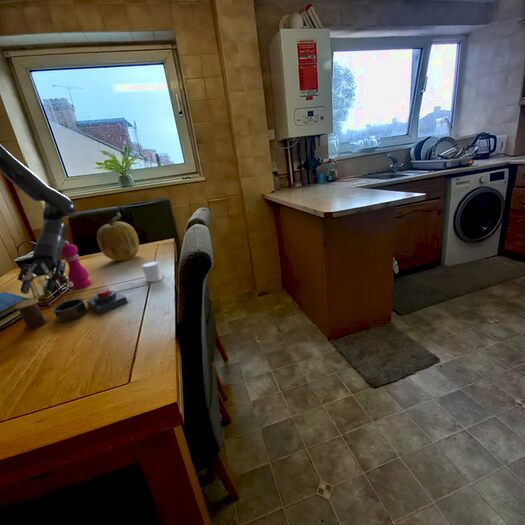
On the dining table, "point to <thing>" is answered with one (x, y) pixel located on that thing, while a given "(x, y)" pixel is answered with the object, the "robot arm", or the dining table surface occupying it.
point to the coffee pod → (31, 313)
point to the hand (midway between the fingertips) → (36, 291)
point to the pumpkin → (118, 240)
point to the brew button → (103, 293)
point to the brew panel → (106, 302)
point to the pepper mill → (75, 266)
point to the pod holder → (70, 310)
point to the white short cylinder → (152, 271)
